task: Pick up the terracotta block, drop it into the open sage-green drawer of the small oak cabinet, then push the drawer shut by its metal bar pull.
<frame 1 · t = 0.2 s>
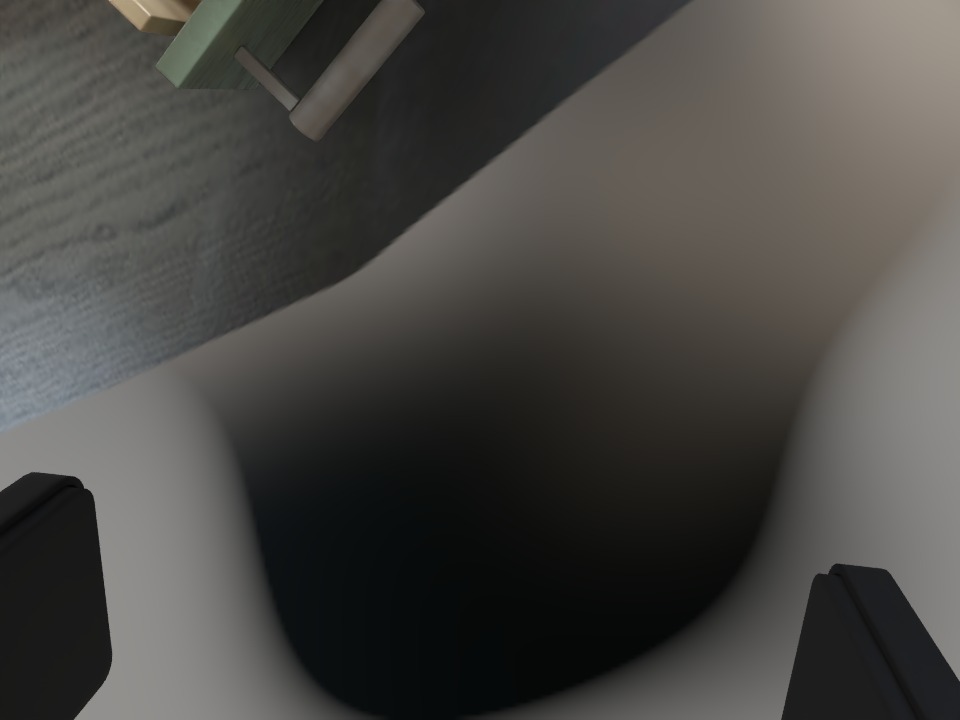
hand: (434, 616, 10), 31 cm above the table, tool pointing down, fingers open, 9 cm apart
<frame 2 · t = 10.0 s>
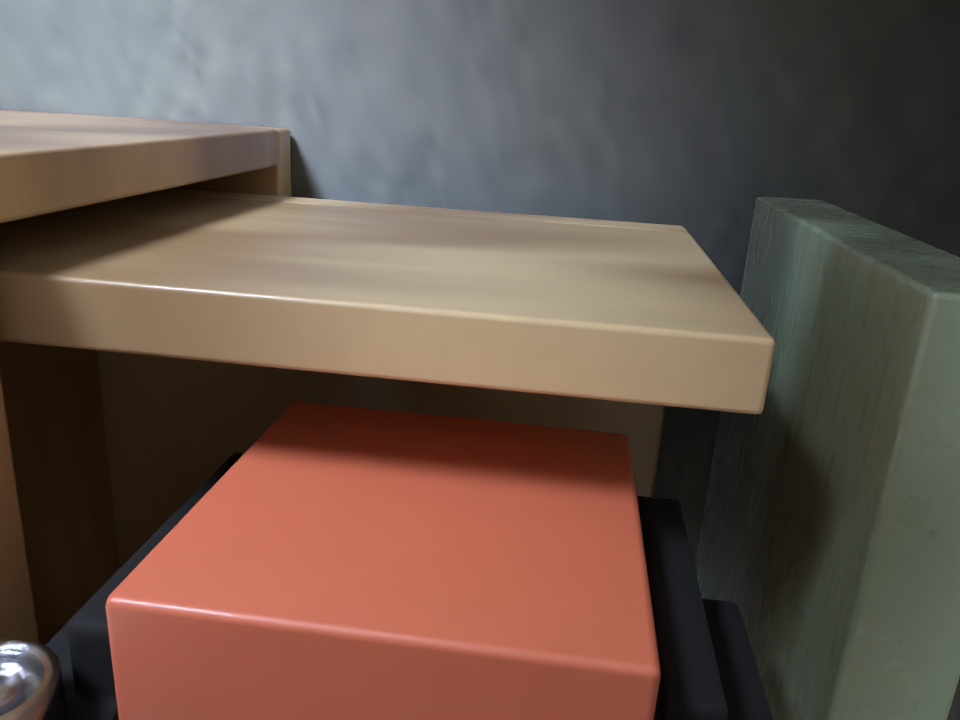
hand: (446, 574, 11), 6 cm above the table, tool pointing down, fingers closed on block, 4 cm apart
drawer: (520, 528, 13), point 5 cm above the table, slide at 9.0 cm
block: (450, 561, 11), point 6 cm above the table, touching gripper
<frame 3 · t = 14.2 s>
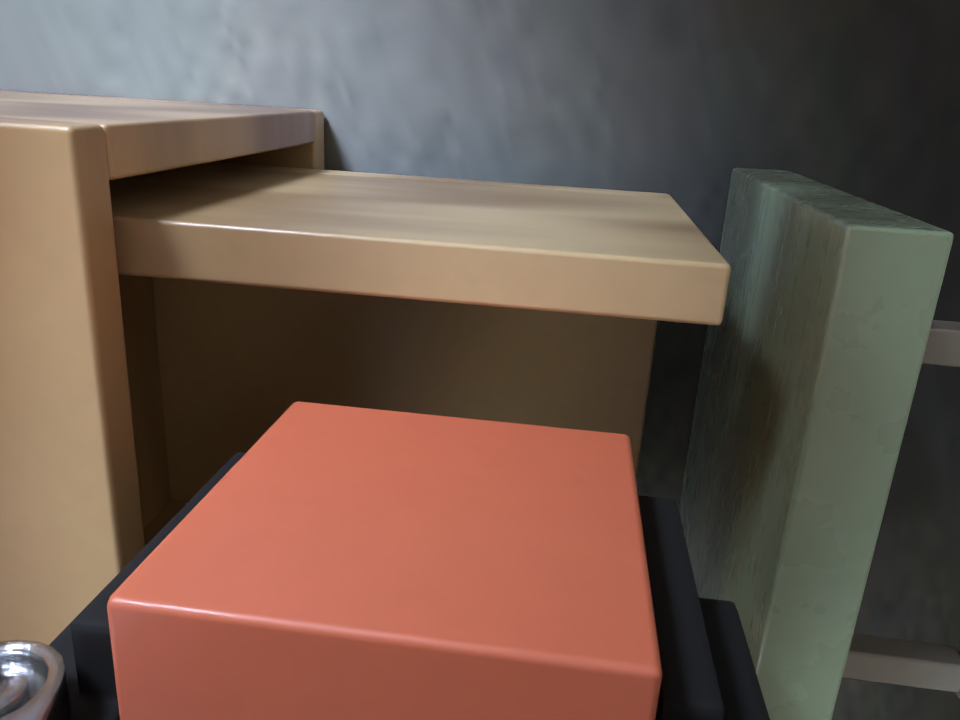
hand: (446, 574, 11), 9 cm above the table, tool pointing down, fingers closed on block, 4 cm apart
drawer: (529, 449, 15), point 5 cm above the table, slide at 9.0 cm
block: (451, 561, 11), point 8 cm above the table, touching gripper
cabinet: (40, 320, 21), on the table
when the fingers open (10 cm above the table, at t = 24.4 s): block drops 7 cm, resting on drawer.
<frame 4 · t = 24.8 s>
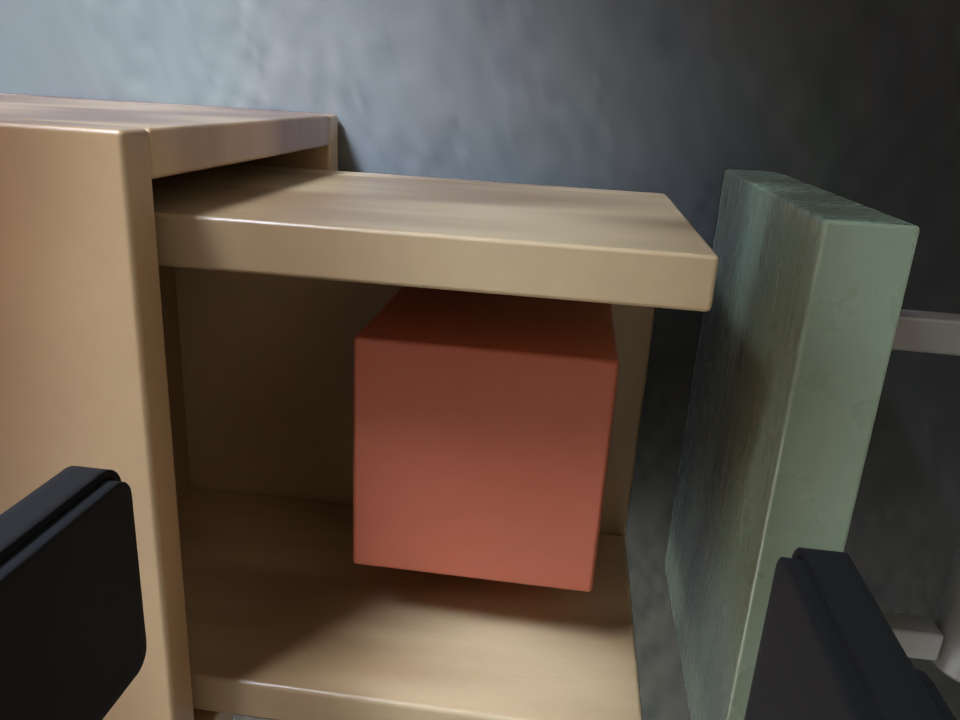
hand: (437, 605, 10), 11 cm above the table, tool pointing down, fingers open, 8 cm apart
drawer: (533, 433, 16), point 5 cm above the table, slide at 9.0 cm, touching block
block: (501, 382, 18), point 2 cm above the table, touching drawer
cabinet: (65, 315, 21), on the table
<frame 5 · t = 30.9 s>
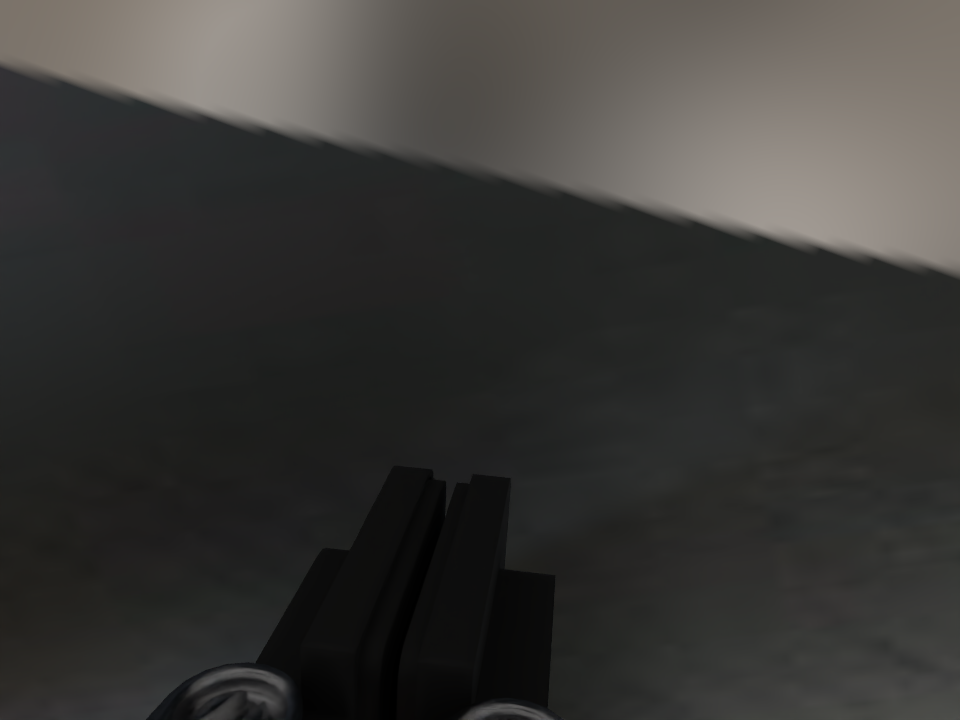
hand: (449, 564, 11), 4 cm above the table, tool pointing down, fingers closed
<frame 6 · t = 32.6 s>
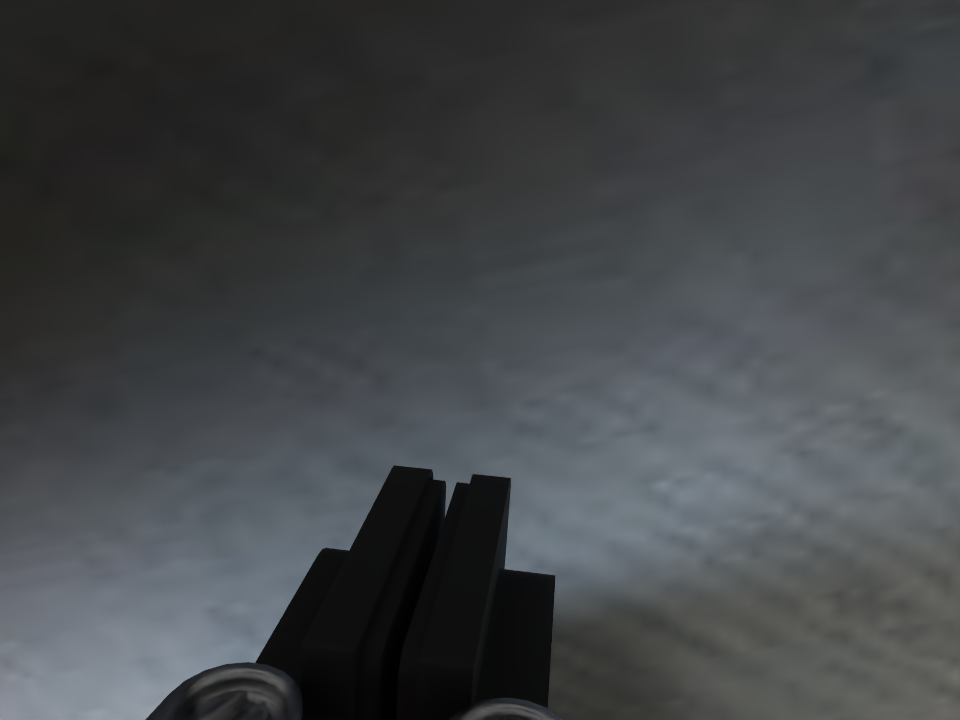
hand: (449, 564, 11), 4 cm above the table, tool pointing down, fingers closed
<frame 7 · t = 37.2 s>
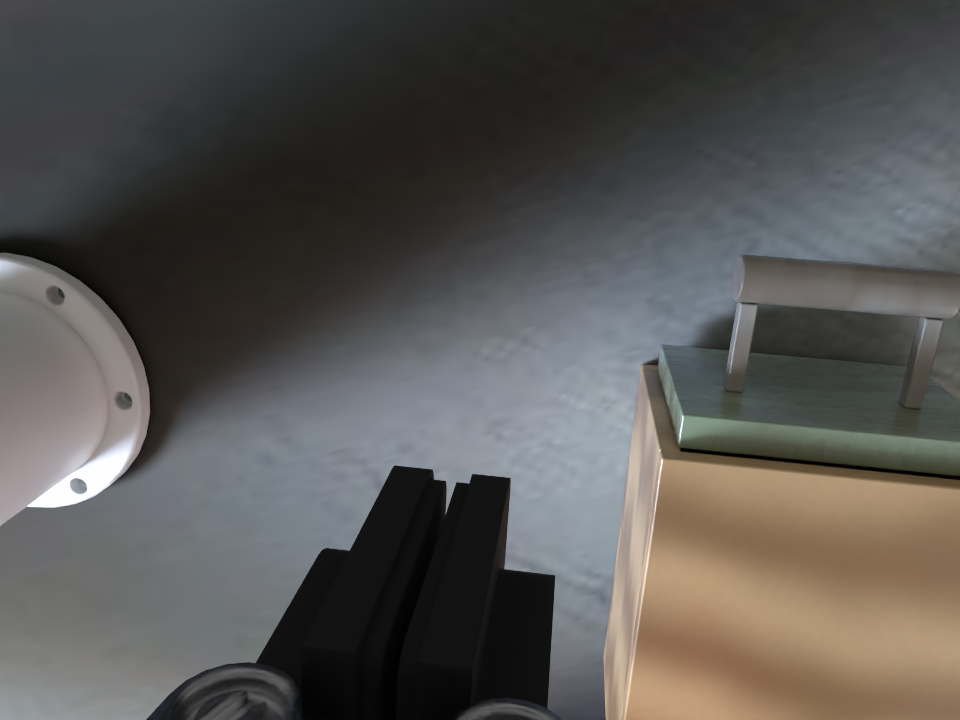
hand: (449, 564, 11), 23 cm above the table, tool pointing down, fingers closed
drawer: (788, 505, 30), point 5 cm above the table, slide at 0.0 cm, touching block, cabinet
block: (769, 492, 33), point 2 cm above the table, touching drawer
cabinet: (747, 534, 36), on the table
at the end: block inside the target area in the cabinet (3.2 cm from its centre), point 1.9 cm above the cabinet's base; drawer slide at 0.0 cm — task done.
